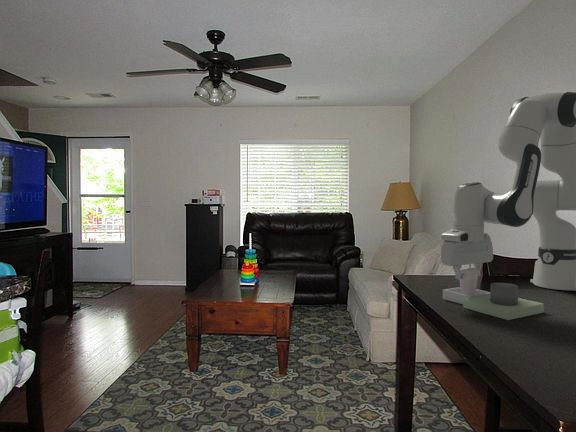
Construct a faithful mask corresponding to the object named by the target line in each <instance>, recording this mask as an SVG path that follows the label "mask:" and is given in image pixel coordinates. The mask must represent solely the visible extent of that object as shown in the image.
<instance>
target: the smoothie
mask: <svg viewBox="0 0 576 432" xmlns="http://www.w3.org/2000/svg"><path fill="white" fill-rule="evenodd" d="M471 265H472V264H468V266H467V267H465V266H464V267H462V266H461V269H460V270H461V273H462V274H463V279H460V280H459V279H458V280H459V286H460V288H461V294H464V295H468V296H472V295H475V294H476V289H477V285H478V284H477V283H478V278H479V277H478V273H479V269H477V268H475V267H472V266H471Z"/></svg>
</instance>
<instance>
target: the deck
mask: <svg viewBox="0 0 576 432" xmlns="http://www.w3.org/2000/svg"><path fill="white" fill-rule="evenodd" d="M489 289H490V292H489V291H486V290H482V289H478V288H476V294H475V295H472V296H468V295H464V294H461V288H460V287H452V288H445V289H442V299H443V300H445V301H449V302H452V303H456V304H461V305H462V306H463V307H462V308H463V309H467V310H471V311H474V312H478V313H480V314H484V315H489V316H493V317H495V318H499V319H503V320H506V321H510V320H511V321H512V320H514V319H515V320H516V319H519V318H523V317H524V318H525V317H529V316H533V315H539V314H542V313H545V303H543V302H538V301H534V300H530V299H529V300H528V299H524V298H521V297H519V286H518V285H517V284H513V283H508V282H507V283H506V282H492V283H490V288H489Z"/></svg>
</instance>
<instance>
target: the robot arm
mask: <svg viewBox="0 0 576 432" xmlns="http://www.w3.org/2000/svg"><path fill="white" fill-rule="evenodd" d="M500 133H501V134H500V136H499V138H498V150H499V151H500V153H501V155H503V156H504V157H505V158H506V159H508V160H510V161H512V162H514V163H516V170H515V175H514V179H513V184H512V187H511V189H510V190H509V191H508V192H506V193H505V192H504V193H501V192H500V193H499V192H496V193H495V192H494V191H491V190H490V189H488V188H486V187H485V186H484V185H483V183H482V182H476V181H475V182H468V183H463V184H459V185H458V186H456V188H455V191H454V195H453V215H454V221H453V224H452V228H450V229H449V230H447V231H445V232H443V233H441V236H440V237H441V241H443V242H442V243H441V245H440V246H441V248H440V262H441V263H442V265H443V266H447V267H452V270H453V272H454V274H455V278H454V279H455V280H460V279H463V274H462V273H461V270H460V269H461V267H462V266H464V265H465V266H466V265H469V264H471V265H474V268H477V269H479V273H478V278H479V277H480V276H481V274H480V273H481V270H482V268H483V265H484V264H483V263H490V262H492V261H493V259H494V248H493V242H492V240H491V236H490V235H489V233H485V224H494V225H504V226H507V227H512V228H513V227H514V228H518V227H522V226H524V225H526V224H527V223H528V222H529V221H530V219H532V216H533V217H534V218H535V220H536V221H537V224H538V229H539V247H538V250H537V253H538V254H537V256H538V259H537V260H535V262H534V270H533V271H534V272H533V278H530V281H529V282H530V283H532V284H533V285H535V286H537V287H540V288H545V289H550V290H561V291H575V292H576V226H575V225H574V224H573V223H571V222H569V221H568V220H565V219H563V218H560V217H559V216H558V215H557V211H574V212H575V211H576V92H573V91H567V92H550V93H548V92H547V93H544V94H538V95H533V96H525V97H521V98H518V99H517V100H516V101H515V102H513V104H512V105H511V107H510V111H509V115H508V117H507V119H506V121H505V123H504V125H503V128H502V131H501V132H500ZM539 141H540V142H539ZM539 143H540V148H539ZM541 165H542V167H543V168H544V169H545V170H547V171H549V172H552V173H553V174H556V175H558V176H559V177H560V179H559V180H538V177H539V174H540V173H539V172H540V168H541Z"/></svg>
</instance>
